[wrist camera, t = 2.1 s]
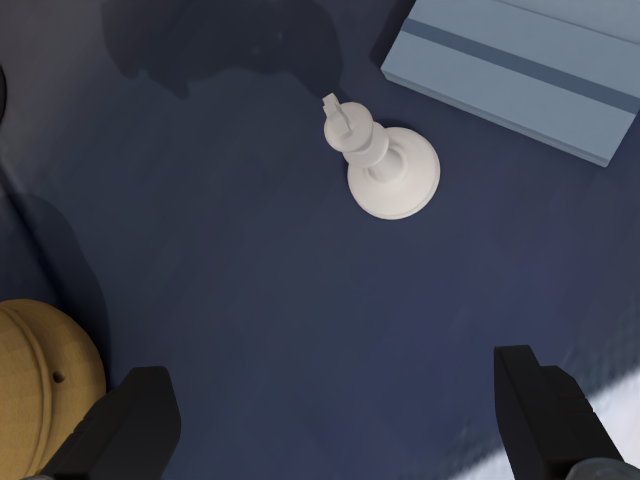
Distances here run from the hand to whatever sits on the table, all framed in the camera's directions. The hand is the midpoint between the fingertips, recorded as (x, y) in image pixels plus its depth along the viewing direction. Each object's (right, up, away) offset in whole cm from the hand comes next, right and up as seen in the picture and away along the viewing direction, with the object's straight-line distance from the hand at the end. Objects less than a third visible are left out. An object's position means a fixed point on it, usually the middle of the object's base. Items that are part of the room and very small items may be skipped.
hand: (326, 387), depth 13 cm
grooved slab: (+11, +14, +14) cm, 22 cm away
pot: (-17, -6, +22) cm, 28 cm away
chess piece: (+4, +7, +15) cm, 17 cm away
